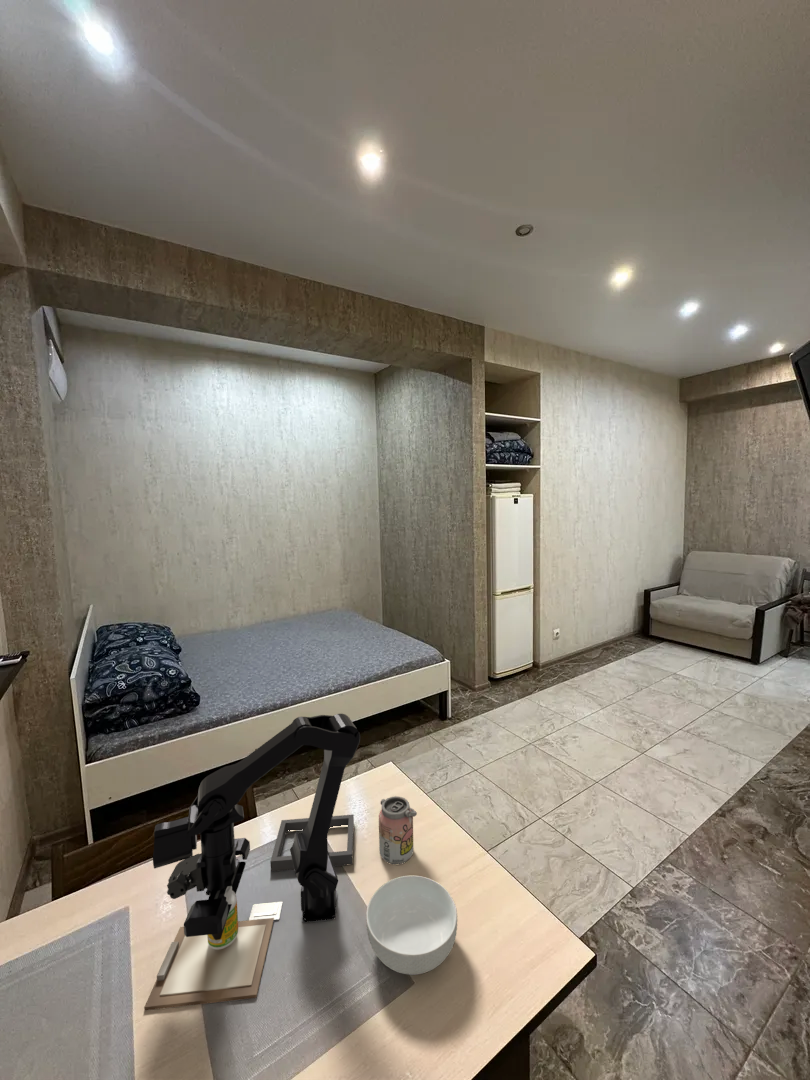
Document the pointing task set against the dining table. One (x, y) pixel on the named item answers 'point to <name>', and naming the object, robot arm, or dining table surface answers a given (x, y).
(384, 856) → the beverage can
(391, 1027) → the dining table surface
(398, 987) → the dining table surface
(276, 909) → the letter card
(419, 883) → the cereal bowl
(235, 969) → the clipboard
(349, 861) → the empty rectangular frame
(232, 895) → the supplement bottle
